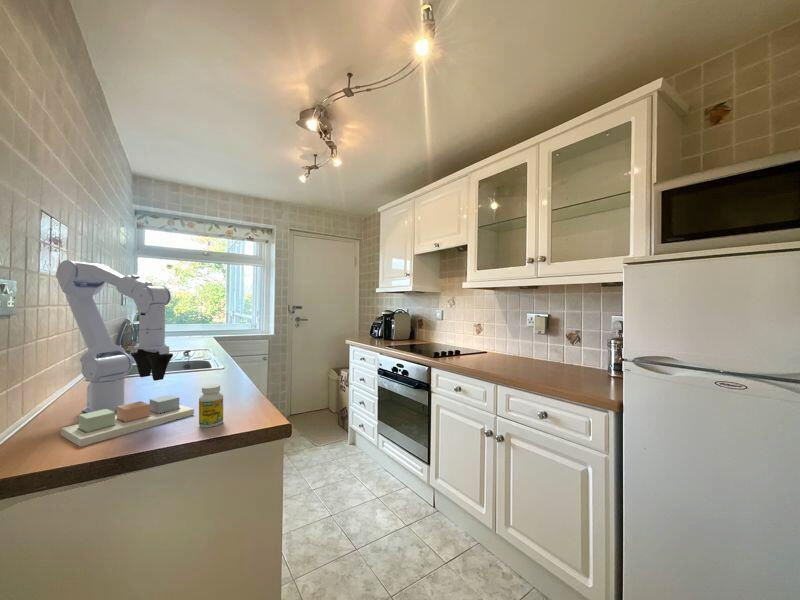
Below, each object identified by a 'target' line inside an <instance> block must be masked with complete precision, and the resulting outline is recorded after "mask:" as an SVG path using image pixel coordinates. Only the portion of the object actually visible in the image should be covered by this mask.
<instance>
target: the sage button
mask: <svg viewBox="0 0 800 600" xmlns="http://www.w3.org/2000/svg"><path fill="white" fill-rule="evenodd" d="M115 415H116V411H115V412H113V411H111V410H108V409H103V410H99V411H94V412H89V413H87V412H85V413H81V414H78V424H79V428H80V429H82V430H84V431H86V432H87V433H89V431H91V432H93V430H95V431H96V430H97V429H99V430H100V429H101V428H103V429H104V428H105V427H107V428H108V427H109V426H113V425H115Z"/></svg>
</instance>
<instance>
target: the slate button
mask: <svg viewBox="0 0 800 600" xmlns="http://www.w3.org/2000/svg"><path fill="white" fill-rule="evenodd" d="M149 404H150V411H152V412H155V413H158V414H159V413H161V414H162V413H163V412H165V413H166V412H167V411H169V412H170V411H171V410H175V409H179V404H180V397H179V396H177V395H172V394H167V395H164V396H158V397H153V398H150V399H149ZM158 414H157V415H158Z"/></svg>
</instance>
